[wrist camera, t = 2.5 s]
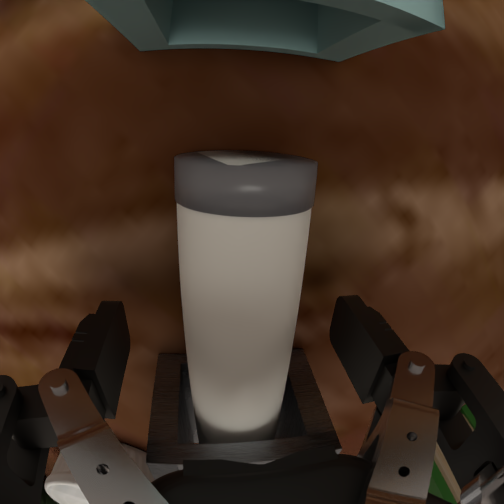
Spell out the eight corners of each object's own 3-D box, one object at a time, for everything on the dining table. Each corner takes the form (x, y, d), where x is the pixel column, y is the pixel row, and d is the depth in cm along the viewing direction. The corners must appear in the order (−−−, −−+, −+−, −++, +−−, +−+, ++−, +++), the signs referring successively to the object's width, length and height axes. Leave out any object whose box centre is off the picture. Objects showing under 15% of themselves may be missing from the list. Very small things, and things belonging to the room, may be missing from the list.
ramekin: (139, 424, 17) (133, 489, 13) (198, 482, 22) (202, 529, 17) (32, 427, 17) (16, 475, 12) (102, 485, 22) (97, 525, 17)
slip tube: (296, 153, 11) (341, 171, 7) (258, 465, 20) (267, 509, 16) (181, 150, 10) (164, 166, 6) (205, 468, 19) (209, 513, 15)
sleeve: (302, 348, 16) (341, 448, 10) (285, 429, 19) (305, 506, 13) (158, 353, 15) (146, 462, 9) (176, 434, 18) (176, 516, 12)
